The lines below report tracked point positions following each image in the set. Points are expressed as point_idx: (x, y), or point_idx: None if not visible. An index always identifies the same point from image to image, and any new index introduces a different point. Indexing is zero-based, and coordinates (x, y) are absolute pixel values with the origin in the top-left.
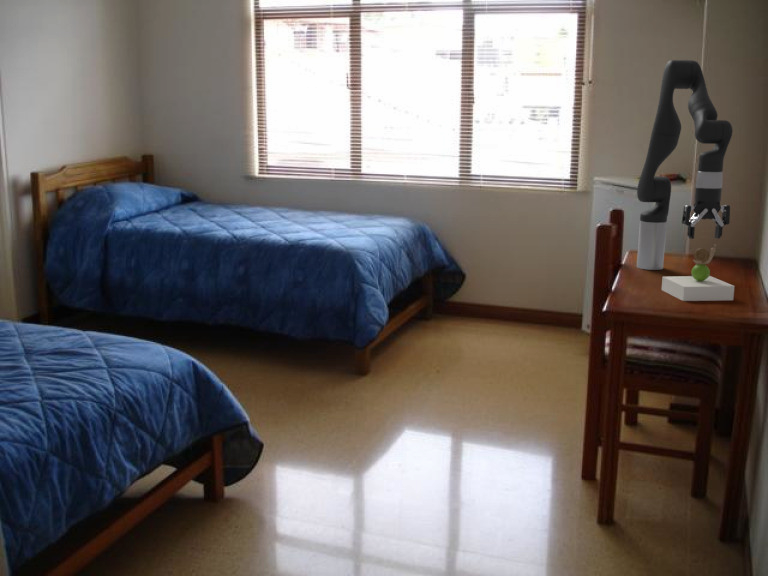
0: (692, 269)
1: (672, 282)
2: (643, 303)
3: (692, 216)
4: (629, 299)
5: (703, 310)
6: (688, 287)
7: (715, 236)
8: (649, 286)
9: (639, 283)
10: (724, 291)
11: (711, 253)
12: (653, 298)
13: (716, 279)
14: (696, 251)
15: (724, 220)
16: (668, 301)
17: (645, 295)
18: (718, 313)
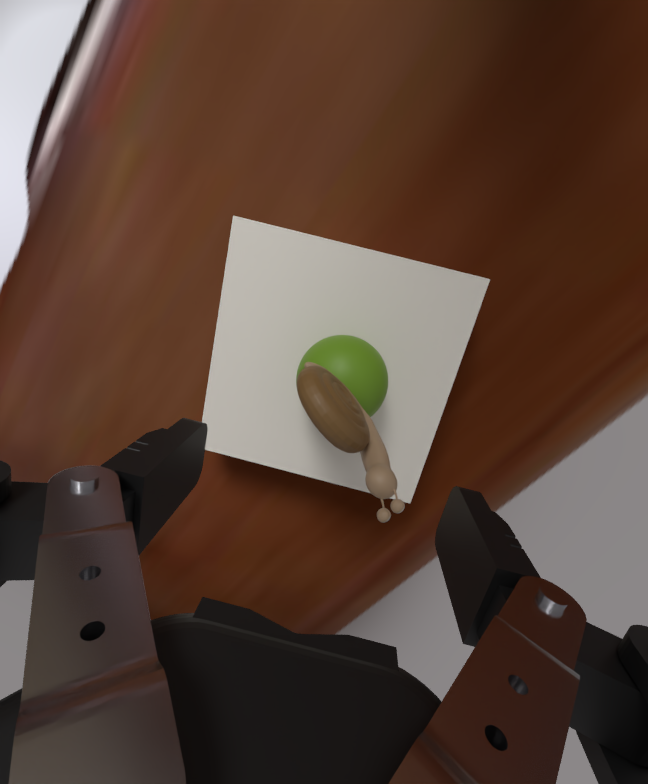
0: (300, 366)
1: (216, 337)
2: (66, 414)
3: (36, 573)
4: (43, 347)
5: (205, 546)
6: (218, 450)
7: (453, 501)
8: (241, 135)
9: (232, 42)
10: None
11: (366, 472)
12: (136, 360)
13: (446, 368)
14: (300, 397)
15: (637, 723)
16: (165, 416)
17: (131, 305)
18: (226, 584)
